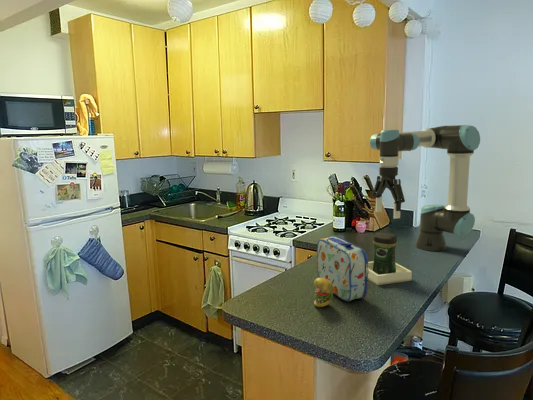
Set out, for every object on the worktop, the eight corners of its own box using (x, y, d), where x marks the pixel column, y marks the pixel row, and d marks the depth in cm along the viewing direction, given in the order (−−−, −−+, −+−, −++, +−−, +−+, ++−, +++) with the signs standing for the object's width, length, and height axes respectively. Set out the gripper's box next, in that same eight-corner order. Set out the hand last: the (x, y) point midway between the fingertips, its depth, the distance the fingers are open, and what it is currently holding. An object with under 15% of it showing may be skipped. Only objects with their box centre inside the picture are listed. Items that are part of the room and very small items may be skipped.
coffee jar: (398, 274, 167) (400, 233, 163) (391, 279, 161) (392, 237, 158) (377, 269, 173) (378, 229, 170) (369, 274, 167) (370, 233, 164)
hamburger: (313, 300, 144) (313, 270, 142) (332, 301, 143) (332, 271, 141) (313, 310, 137) (313, 278, 134) (333, 310, 136) (334, 279, 134)
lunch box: (374, 303, 141) (376, 246, 137) (350, 308, 137) (351, 250, 133) (334, 277, 166) (335, 229, 162) (313, 281, 162) (313, 231, 158)
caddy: (389, 267, 177) (389, 259, 176) (411, 280, 162) (411, 271, 161) (357, 271, 173) (357, 263, 172) (377, 285, 157) (377, 276, 157)
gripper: (365, 164, 172) (364, 210, 176) (398, 169, 149) (397, 222, 153) (379, 163, 174) (378, 208, 178) (415, 168, 151) (413, 220, 155)
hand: (387, 215), depth 166 cm, fingers open, 13 cm apart
